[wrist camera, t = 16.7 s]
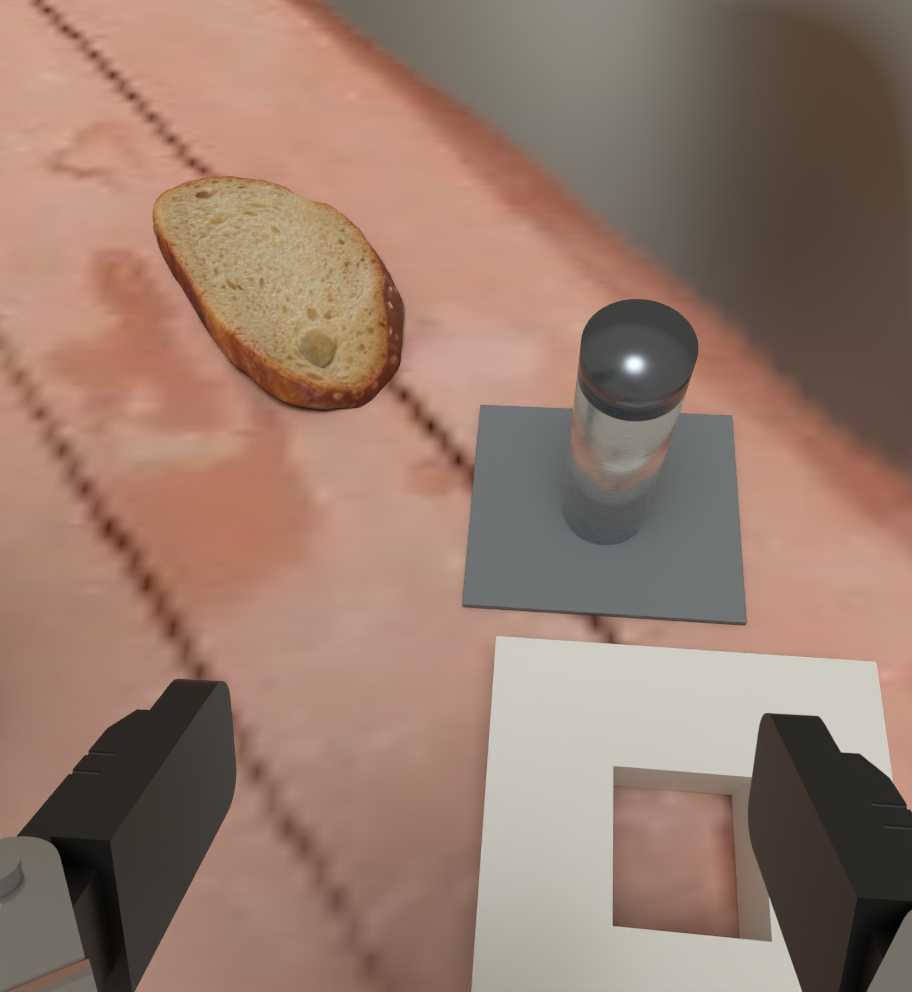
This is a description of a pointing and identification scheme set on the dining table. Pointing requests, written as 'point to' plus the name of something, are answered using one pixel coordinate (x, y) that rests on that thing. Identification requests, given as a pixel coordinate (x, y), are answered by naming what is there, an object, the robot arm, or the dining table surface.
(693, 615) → the rubber mat
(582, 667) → the socket housing
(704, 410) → the dining table surface
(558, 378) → the dining table surface
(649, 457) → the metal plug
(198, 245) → the slice of bread
